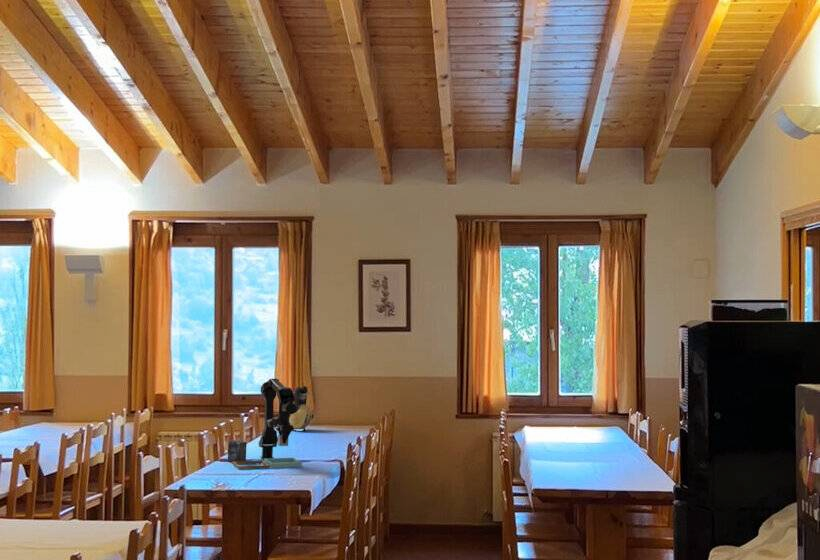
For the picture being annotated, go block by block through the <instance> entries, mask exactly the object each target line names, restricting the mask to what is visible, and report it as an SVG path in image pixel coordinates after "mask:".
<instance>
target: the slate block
mask: <svg viewBox="0 0 820 560" xmlns="http://www.w3.org/2000/svg"><path fill="white" fill-rule="evenodd" d="M277 437H278V441H277V446H278V447H289V438H288V439H287V441H286V443H285V444H283V440H282V435H279V434H277Z"/></svg>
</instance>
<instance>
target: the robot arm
mask: <svg viewBox="0 0 820 560" xmlns="http://www.w3.org/2000/svg"><path fill="white" fill-rule="evenodd" d="M293 392H294V391H293V390H292V388H291V387H287V386H285V385H284V384H283V383H282V382H280V379H278V378H269V379H268V380H267V381H265V382H264V383H262V385H261V387H260V393H261V397H262V399H263V400H264V429H263V430H262V431H261V437H260V438H259V441H258V447H259V448H262V449H261V456H260V457H261V458H260V459H262V460H264V459H266V458H275V457H274V455H273V454H274V448H277V446H278V435H282V440H283V444H285V443H286V441H287V439H288V440H289V437H290V435H291V432H295V431H294V427H293V426H292V425H291V424H290V423H289V418H290V417H291V415H290V414H294V413H295V412H296V409H297V408H296V405H295V397H294V394H293ZM276 397H277V399H278V402H277V403H278V413H277V414H276V417H274V402H275V401H274V400H275V399H276Z"/></svg>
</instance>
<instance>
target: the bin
mask: <svg viewBox="0 0 820 560" xmlns="http://www.w3.org/2000/svg"><path fill="white" fill-rule="evenodd" d="M263 461H264V462H265V463H267V464H268V465H270V467H271V468H270V467H269V468H270V469H291V468H290V467H298V468H302V463H303V462H301V461H300V460H298V459H296V458H295V457H274V458H266V459H263ZM288 467H289V468H288Z"/></svg>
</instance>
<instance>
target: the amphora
mask: <svg viewBox="0 0 820 560" xmlns="http://www.w3.org/2000/svg"><path fill="white" fill-rule="evenodd" d="M308 391H309V390H308V387H307V386H306V385H303V386H301V387H300V386H296V388H295V389H294V391H293V394H294V397H295V402H294V404H295V405H296V408H297V409H296V412H295V413H294V414H290V415H291V417H290V418H289V423H290V424H291V425H292V426H293V427H294V429H305V430H306V428H307V427H308V426H309V424H310V423H311V421H312V418H313V410H312V409H311V408H310V407H309V406H308V405H307V399H308V395H309V394H310V392H308Z"/></svg>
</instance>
